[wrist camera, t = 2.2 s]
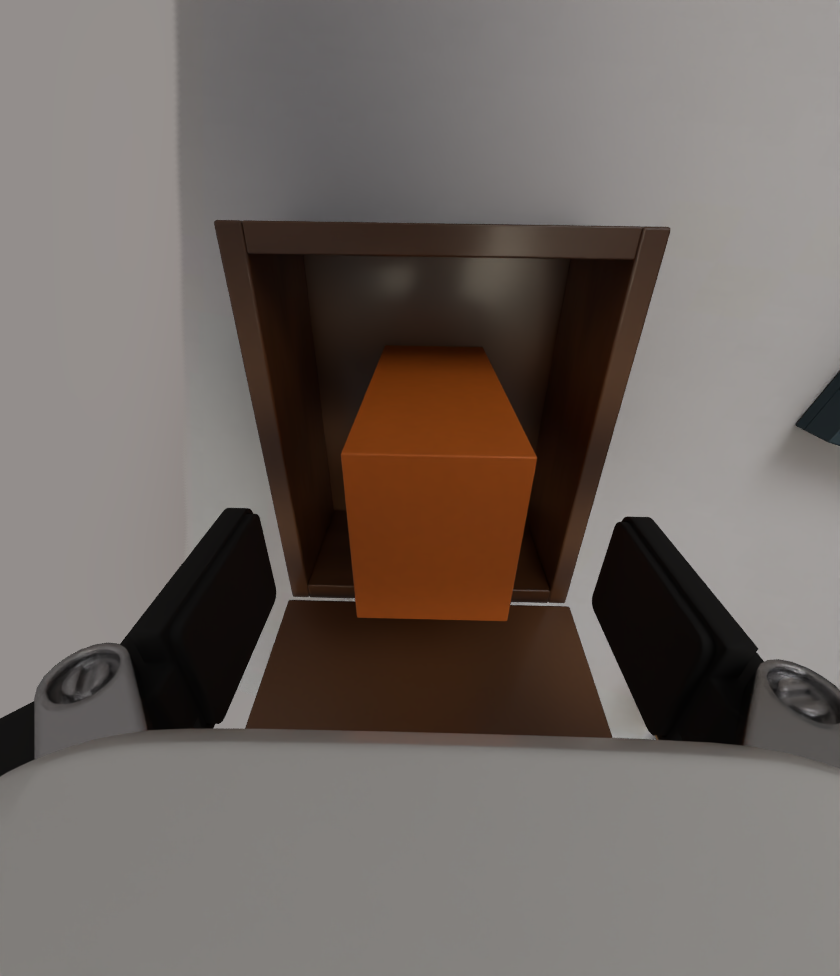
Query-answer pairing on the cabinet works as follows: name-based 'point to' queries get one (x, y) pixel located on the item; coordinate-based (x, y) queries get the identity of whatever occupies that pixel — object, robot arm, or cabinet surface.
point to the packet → (436, 488)
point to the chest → (436, 322)
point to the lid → (428, 674)
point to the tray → (824, 414)
